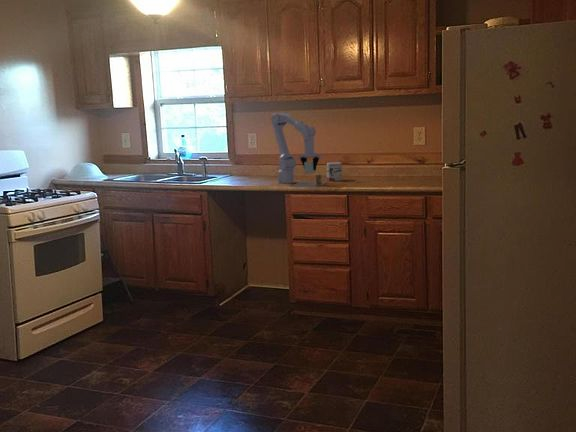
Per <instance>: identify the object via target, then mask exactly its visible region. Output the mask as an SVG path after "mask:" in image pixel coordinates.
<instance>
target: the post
mask: <svg viewBox="0 0 576 432" xmlns="http://www.w3.org/2000/svg"><path fill="white" fill-rule="evenodd" d="M322 177H323V176H322V174H316V175H315V182H316V183H322V182H323V180H322Z"/></svg>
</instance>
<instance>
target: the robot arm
mask: <svg viewBox="0 0 576 432" xmlns="http://www.w3.org/2000/svg"><path fill="white" fill-rule="evenodd" d="M270 120H271V125H272V129H273V133H274V136H275V140H276V143H277V147H278V150H279V154H280V155H279V157H278V167H279V168H280V169H279V170H278V173H277V178H278V181H277V182H278V184H295V170H294V169H295V167H296V166H297V161H296V159H295V158H294V155H292V154H291V152H290V150H289V147H288V144H287V140H286V137H285V134H284V131H283V128H284V127H285V126H286V125H287V124H289V125H291V126H293V127H294V130H296V132H297V131H298V132H299V133H300V134H301V135H302V138H303V140H304V142H303V143H304V144H303V145H304V154H297V159H300V162H301V163H302V165H303V170H305V168H304V162H306V161H308V159H312V161H313V164H314V170H317V166H318V162H319V161H320V159H321V158H322V154H317V153H316V154H315V135H316V129H315V128H314V126H309V124H306V123H304V121H303V120H298V121H297V120H296V119H295V118H293V116H291V115H290V113H288V112H286V111H285V112H275V113H273V114H272V115H271V118H270Z"/></svg>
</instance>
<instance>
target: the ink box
mask: <svg viewBox="0 0 576 432" xmlns="http://www.w3.org/2000/svg"><path fill="white" fill-rule="evenodd" d="M342 169H343V167H342V162H341V161H340V162H339V161H336V162H335V161H334V162H327V163H326V180H327V181H326V182H337V181H343V173H342V172H343V170H342Z"/></svg>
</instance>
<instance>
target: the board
mask: <svg viewBox="0 0 576 432" xmlns="http://www.w3.org/2000/svg"><path fill="white" fill-rule="evenodd" d="M326 183H328V181H322V183H316V181H300V182H297V183H293V185H289V187H291V188H292V187H294V188H295V187H296V188H298V187H299V188H301V187H304V188H305V187H306V188H313V187H315V188H317V187H318V188H319V187H321V186H322V185H325V184H326Z"/></svg>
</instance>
